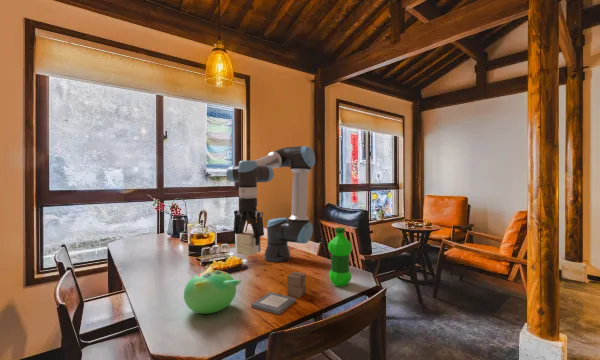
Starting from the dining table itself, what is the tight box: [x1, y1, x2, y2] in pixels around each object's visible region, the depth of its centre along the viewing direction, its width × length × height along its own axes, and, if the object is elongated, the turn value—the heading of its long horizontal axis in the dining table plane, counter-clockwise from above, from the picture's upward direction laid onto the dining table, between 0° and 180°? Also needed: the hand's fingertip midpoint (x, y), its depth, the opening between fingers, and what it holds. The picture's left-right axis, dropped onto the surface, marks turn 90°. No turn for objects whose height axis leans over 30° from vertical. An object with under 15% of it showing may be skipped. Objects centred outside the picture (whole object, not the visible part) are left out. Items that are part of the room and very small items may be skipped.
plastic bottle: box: [327, 226, 353, 287], centre depth 127 cm, size 10×10×25 cm
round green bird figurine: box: [183, 266, 242, 315], centre depth 103 cm, size 18×17×15 cm
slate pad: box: [251, 291, 297, 315], centre depth 108 cm, size 12×12×1 cm
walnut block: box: [286, 271, 307, 299], centre depth 117 cm, size 6×6×8 cm
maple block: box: [236, 230, 261, 256], centre depth 121 cm, size 7×7×8 cm
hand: (248, 251), depth 121 cm, fingers closed on maple block, 7 cm apart
